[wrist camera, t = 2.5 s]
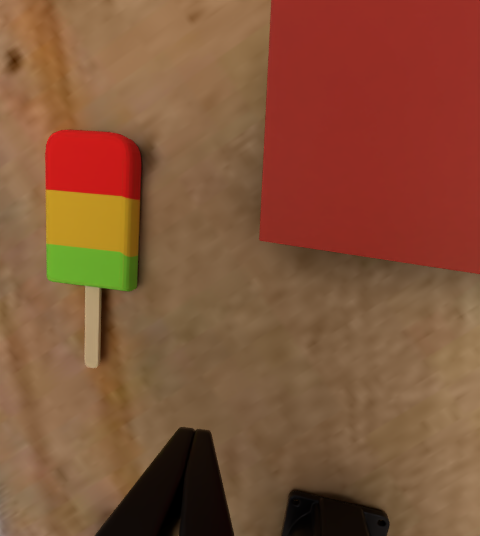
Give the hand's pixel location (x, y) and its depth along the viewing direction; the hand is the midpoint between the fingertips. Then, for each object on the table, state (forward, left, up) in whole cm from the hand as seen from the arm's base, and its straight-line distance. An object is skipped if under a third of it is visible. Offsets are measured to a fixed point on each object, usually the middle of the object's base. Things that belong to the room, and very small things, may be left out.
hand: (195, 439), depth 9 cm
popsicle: (+2, +10, -13) cm, 16 cm away
